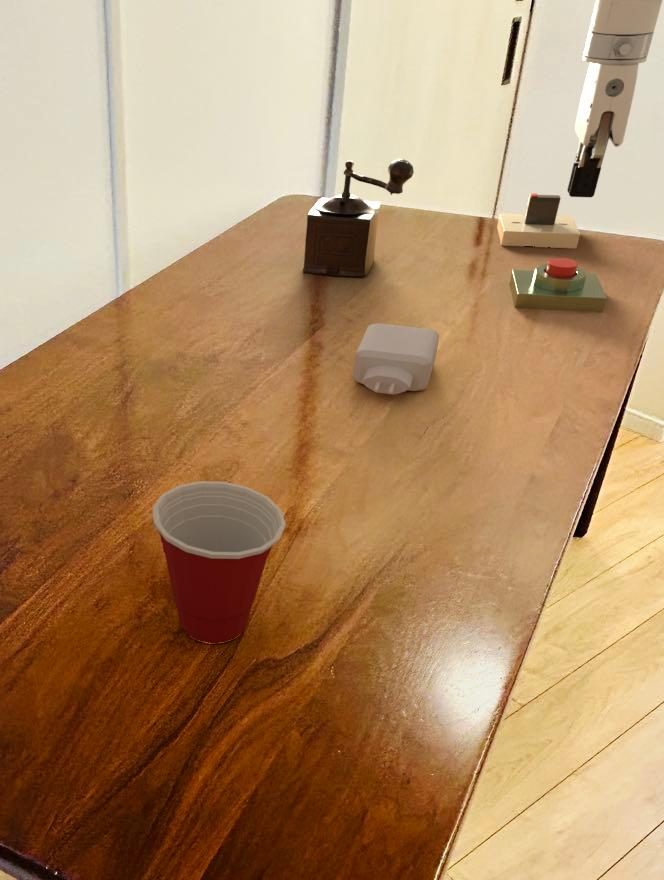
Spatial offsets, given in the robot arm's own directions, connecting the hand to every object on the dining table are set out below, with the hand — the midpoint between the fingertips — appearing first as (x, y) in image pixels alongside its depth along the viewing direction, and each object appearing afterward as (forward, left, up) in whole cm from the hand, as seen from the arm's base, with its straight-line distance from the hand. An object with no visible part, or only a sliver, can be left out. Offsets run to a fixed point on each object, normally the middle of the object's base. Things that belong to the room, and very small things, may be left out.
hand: (580, 194), depth 127 cm
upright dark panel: (0, -28, -13) cm, 31 cm away
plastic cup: (+37, +83, -15) cm, 92 cm away
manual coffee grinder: (+30, -9, -15) cm, 35 cm away
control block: (0, 0, -15) cm, 15 cm away
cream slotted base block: (0, -28, -15) cm, 32 cm away
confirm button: (0, 0, -12) cm, 12 cm away
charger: (+23, +33, -15) cm, 43 cm away
